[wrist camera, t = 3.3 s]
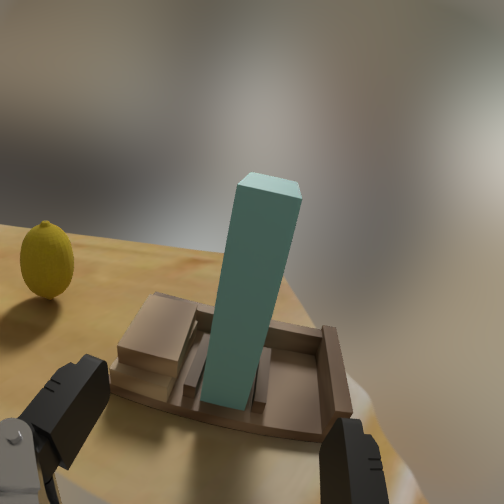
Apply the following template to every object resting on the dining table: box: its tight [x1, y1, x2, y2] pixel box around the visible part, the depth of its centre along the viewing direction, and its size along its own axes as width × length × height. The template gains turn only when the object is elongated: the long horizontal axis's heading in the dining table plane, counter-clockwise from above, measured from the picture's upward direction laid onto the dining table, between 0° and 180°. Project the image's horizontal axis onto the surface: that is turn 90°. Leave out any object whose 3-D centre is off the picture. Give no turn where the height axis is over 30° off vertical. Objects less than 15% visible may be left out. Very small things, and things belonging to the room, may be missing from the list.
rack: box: [109, 292, 353, 443], centre depth 23 cm, size 16×10×4 cm, turn 84°
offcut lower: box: [109, 321, 198, 403], centre depth 22 cm, size 4×8×2 cm, turn 175°
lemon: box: [20, 221, 74, 300], centre depth 25 cm, size 6×6×8 cm
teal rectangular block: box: [200, 172, 302, 411], centre depth 20 cm, size 3×6×14 cm, turn 174°
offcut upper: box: [117, 294, 198, 378], centre depth 22 cm, size 4×7×2 cm, turn 179°
